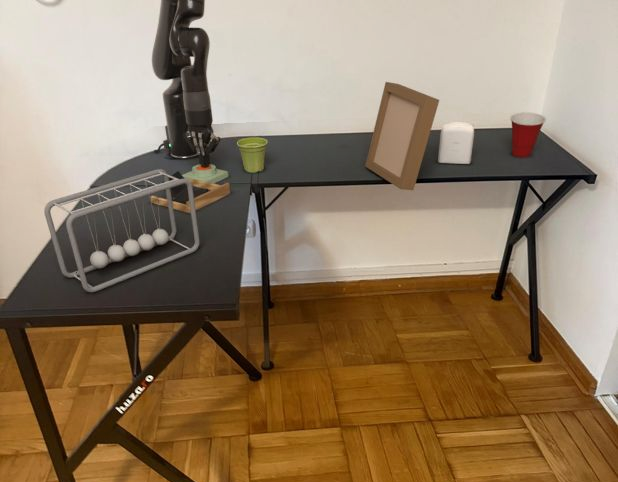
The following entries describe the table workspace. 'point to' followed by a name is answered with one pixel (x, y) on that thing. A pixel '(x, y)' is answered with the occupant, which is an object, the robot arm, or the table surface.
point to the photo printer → (456, 143)
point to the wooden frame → (201, 200)
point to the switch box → (206, 174)
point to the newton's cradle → (130, 246)
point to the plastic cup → (525, 132)
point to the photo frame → (401, 134)
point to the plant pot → (252, 153)
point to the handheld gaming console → (183, 190)
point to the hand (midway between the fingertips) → (205, 166)
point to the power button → (203, 168)
